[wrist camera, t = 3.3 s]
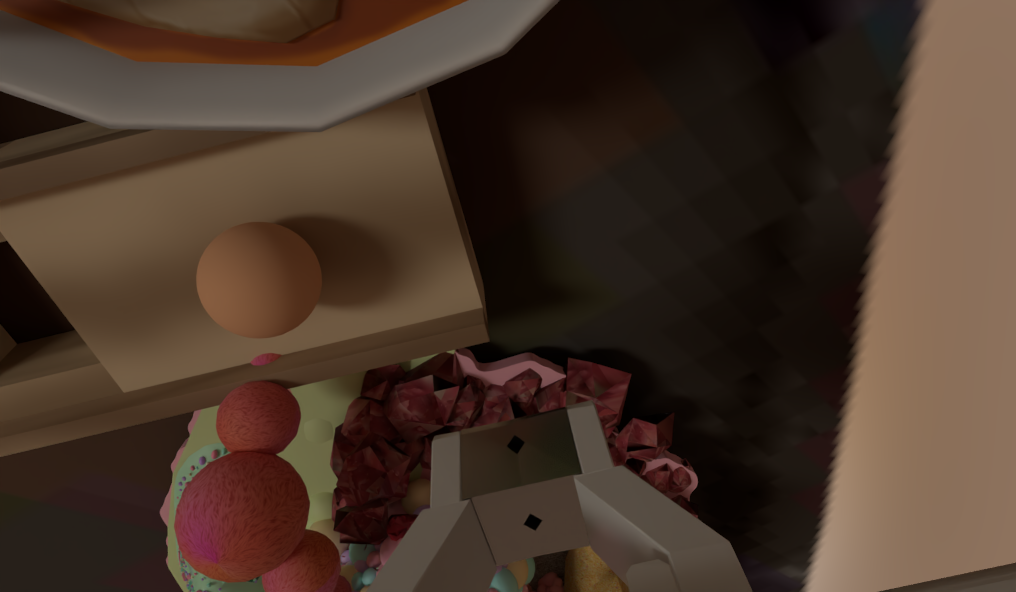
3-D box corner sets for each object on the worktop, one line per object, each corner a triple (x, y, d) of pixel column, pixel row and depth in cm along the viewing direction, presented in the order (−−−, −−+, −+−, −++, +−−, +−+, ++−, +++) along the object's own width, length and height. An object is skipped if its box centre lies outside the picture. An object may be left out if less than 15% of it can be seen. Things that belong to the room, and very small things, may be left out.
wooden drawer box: (-195, 194, 20) (-320, 250, 17) (412, 37, 20) (406, 64, 16) (-4, 398, 26) (-72, 473, 22) (483, 282, 25) (489, 341, 21)
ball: (196, 218, 19) (152, 275, 16) (304, 190, 19) (279, 243, 16) (247, 307, 21) (215, 373, 18) (345, 284, 21) (329, 346, 18)
